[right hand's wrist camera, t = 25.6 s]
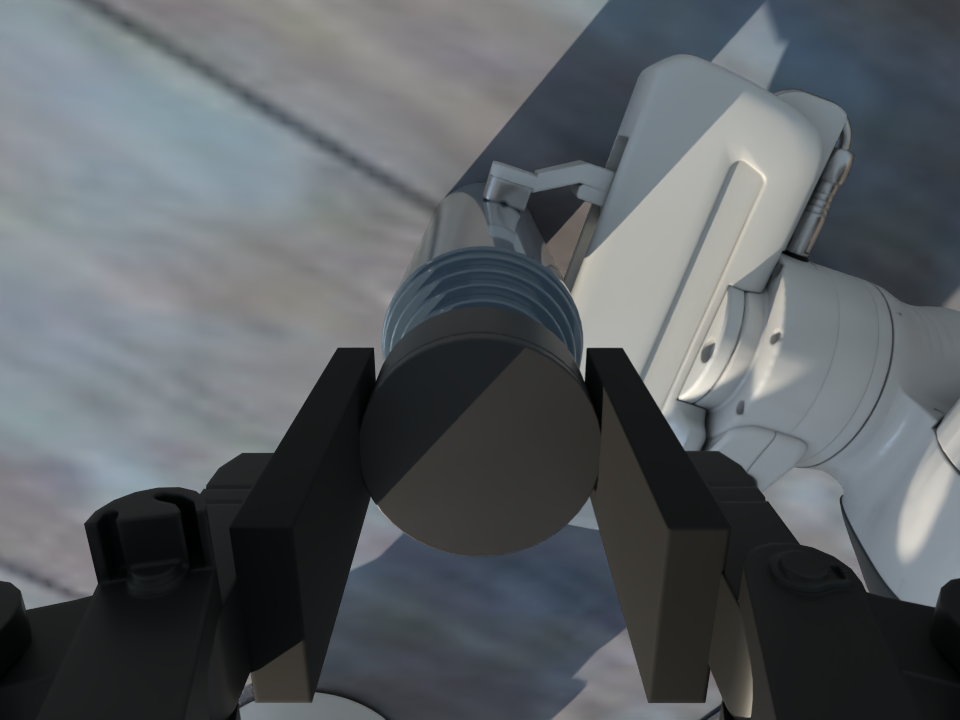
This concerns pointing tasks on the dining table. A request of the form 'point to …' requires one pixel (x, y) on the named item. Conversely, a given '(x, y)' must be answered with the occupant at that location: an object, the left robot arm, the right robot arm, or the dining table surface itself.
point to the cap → (480, 434)
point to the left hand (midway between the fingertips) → (462, 259)
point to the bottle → (482, 270)
